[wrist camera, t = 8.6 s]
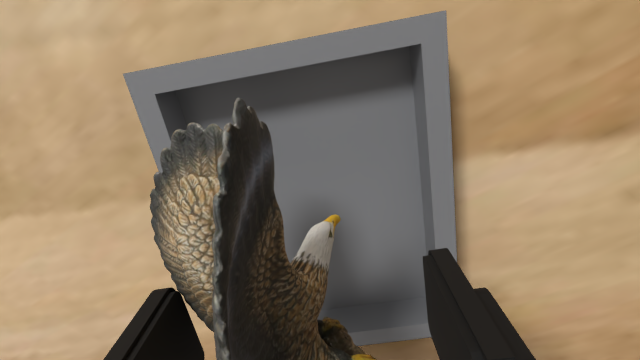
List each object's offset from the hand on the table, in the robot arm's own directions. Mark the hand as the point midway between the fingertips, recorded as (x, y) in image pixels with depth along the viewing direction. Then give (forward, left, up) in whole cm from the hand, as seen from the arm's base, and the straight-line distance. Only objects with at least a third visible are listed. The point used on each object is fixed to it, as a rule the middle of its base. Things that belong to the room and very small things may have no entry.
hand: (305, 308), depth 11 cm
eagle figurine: (+1, -2, -2) cm, 3 cm away
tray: (0, 0, -9) cm, 9 cm away
